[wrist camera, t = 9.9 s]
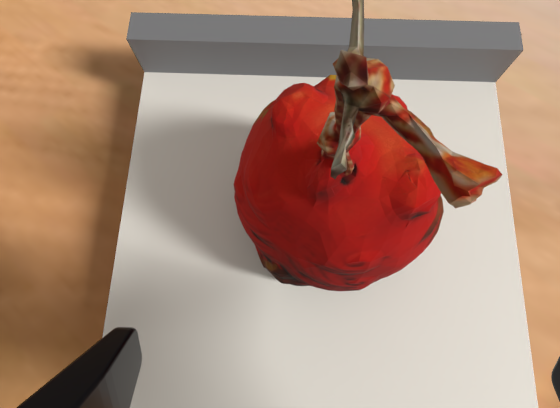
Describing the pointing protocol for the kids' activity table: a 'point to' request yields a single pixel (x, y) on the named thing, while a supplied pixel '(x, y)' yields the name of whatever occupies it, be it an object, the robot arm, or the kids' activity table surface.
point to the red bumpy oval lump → (347, 177)
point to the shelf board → (307, 299)
